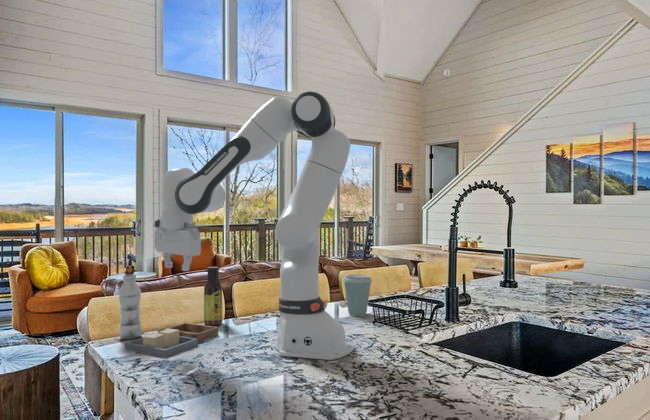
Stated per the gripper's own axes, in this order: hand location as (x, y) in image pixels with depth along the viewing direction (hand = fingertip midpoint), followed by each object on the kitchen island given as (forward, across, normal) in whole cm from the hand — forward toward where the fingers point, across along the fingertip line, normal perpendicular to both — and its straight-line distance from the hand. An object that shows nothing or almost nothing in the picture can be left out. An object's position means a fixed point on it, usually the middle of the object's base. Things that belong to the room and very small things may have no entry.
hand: (176, 269), depth 137 cm
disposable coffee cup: (+21, -20, -63) cm, 70 cm away
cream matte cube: (+22, -1, +3) cm, 22 cm away
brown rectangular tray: (+22, +2, -7) cm, 23 cm away
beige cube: (+22, -2, +8) cm, 23 cm away
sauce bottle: (+22, +11, -21) cm, 33 cm away
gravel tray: (+22, -2, +5) cm, 23 cm away
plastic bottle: (+23, +15, +6) cm, 28 cm away
